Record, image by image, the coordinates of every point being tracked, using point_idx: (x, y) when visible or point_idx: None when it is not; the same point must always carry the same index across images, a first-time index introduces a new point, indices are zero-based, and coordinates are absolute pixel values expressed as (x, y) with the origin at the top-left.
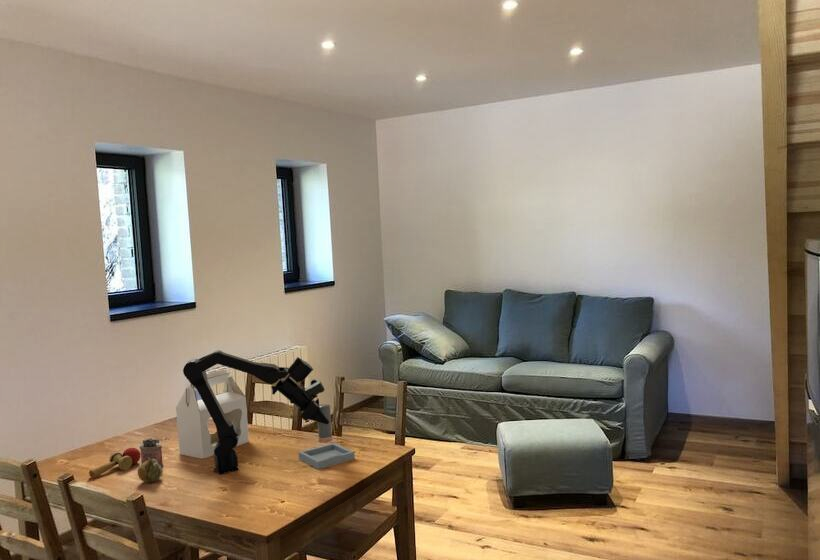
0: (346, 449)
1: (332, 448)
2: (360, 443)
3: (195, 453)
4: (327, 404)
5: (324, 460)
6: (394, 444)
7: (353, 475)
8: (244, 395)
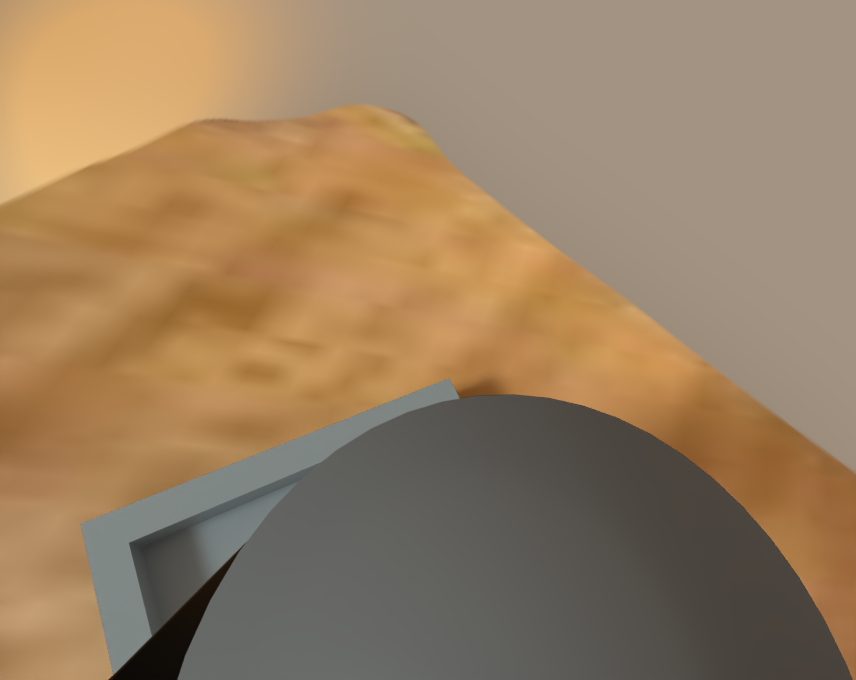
0: (360, 428)
1: (143, 551)
2: (68, 298)
3: None
4: (331, 485)
5: None
6: (239, 130)
7: (739, 453)
8: None
